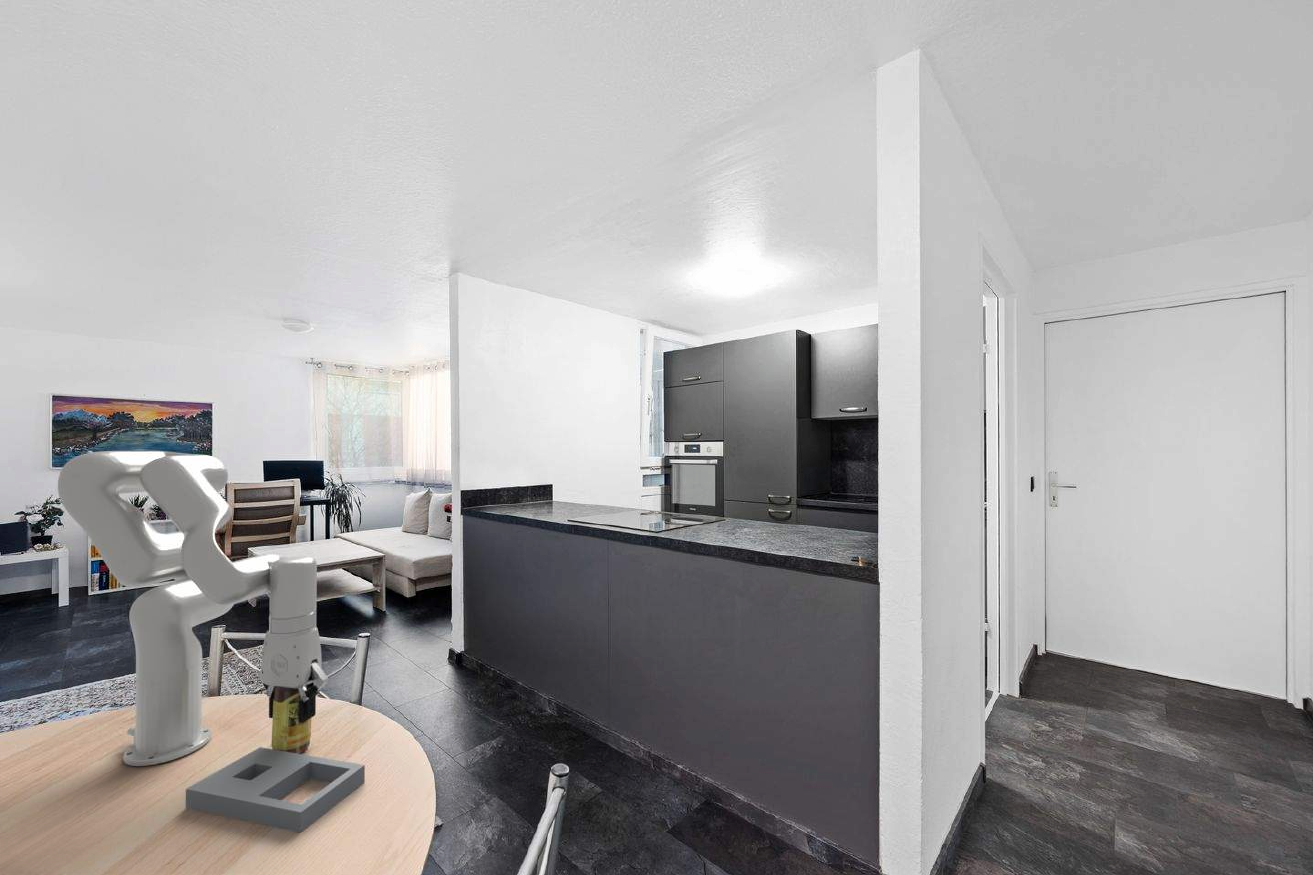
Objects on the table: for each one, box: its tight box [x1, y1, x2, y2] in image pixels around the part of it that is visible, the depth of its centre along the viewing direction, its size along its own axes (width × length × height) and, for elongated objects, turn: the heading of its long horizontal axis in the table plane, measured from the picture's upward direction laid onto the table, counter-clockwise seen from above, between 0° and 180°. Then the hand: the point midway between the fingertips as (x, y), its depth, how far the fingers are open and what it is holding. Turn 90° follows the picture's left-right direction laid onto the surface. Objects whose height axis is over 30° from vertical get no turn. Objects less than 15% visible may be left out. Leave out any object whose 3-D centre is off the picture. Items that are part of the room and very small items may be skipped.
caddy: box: [185, 746, 366, 833], centre depth 90 cm, size 23×12×3 cm, turn 76°
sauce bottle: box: [270, 684, 312, 754], centre depth 103 cm, size 7×6×20 cm
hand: (292, 715), depth 103 cm, fingers closed on sauce bottle, 6 cm apart
